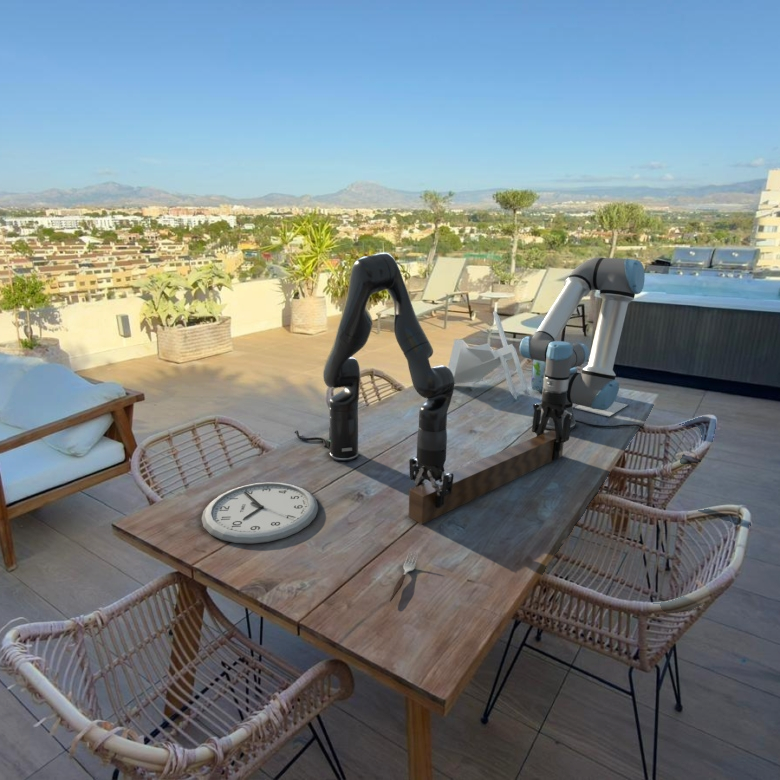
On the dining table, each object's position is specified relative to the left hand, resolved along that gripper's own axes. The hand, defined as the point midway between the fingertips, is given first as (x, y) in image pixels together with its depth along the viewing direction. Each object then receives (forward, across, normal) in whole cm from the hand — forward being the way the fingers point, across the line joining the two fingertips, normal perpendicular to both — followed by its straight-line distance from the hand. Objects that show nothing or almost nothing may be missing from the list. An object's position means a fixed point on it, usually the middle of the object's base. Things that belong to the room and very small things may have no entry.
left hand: (429, 501), depth 138 cm
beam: (+4, 0, +28) cm, 28 cm away
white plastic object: (+4, -61, +95) cm, 113 cm away
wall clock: (+4, -29, -34) cm, 45 cm away
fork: (+4, +16, -24) cm, 29 cm away
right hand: (+3, 0, +56) cm, 56 cm away
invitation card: (+4, -15, +121) cm, 122 cm away
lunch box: (+4, -43, +126) cm, 134 cm away
